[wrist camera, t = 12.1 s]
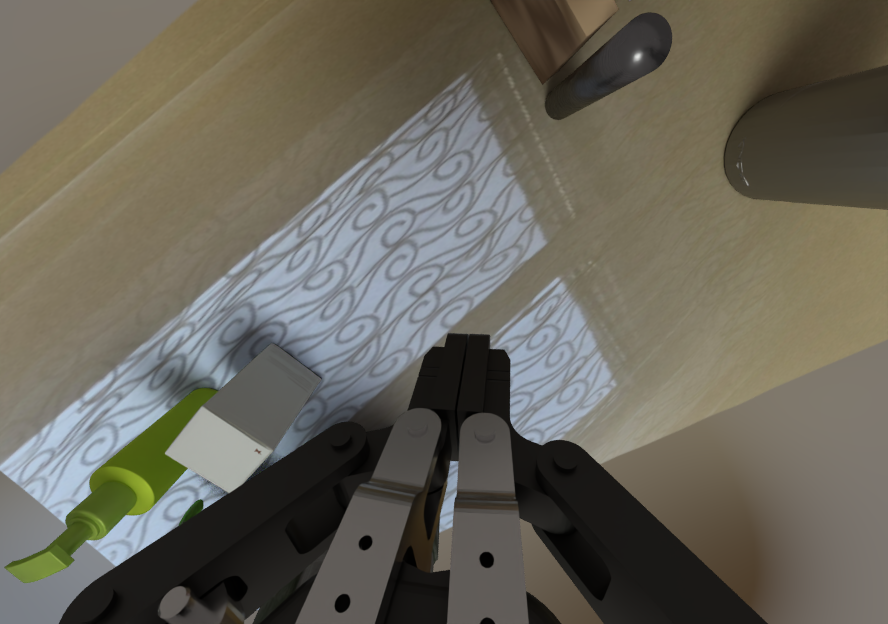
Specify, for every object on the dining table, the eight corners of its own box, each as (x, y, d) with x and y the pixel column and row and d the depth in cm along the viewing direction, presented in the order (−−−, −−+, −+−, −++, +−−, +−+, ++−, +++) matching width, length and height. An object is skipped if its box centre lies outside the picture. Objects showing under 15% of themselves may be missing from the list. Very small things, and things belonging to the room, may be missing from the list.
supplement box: (272, 340, 42) (201, 403, 31) (323, 378, 44) (275, 453, 32) (238, 380, 45) (160, 454, 33) (289, 415, 46) (231, 498, 34)
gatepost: (570, 82, 33) (668, 3, 18) (576, 113, 34) (674, 63, 18) (542, 93, 33) (614, 24, 18) (548, 123, 34) (622, 82, 19)
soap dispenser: (170, 401, 46) (-26, 557, 27) (214, 380, 45) (39, 529, 26) (200, 436, 48) (35, 605, 29) (243, 417, 46) (99, 581, 28)
